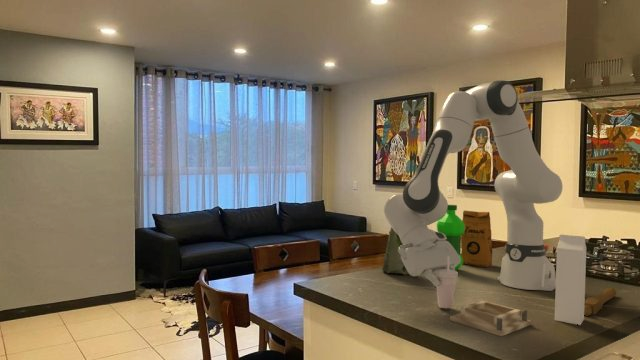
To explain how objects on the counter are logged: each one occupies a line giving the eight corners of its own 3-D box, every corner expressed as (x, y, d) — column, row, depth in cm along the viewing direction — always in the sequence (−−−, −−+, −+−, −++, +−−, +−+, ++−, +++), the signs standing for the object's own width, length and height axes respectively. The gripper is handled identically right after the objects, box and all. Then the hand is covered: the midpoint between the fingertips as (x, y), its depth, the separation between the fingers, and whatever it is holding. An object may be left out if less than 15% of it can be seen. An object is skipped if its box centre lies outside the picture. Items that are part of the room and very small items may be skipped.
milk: (558, 315, 126) (561, 233, 125) (584, 319, 122) (586, 235, 122) (554, 320, 121) (556, 235, 120) (580, 325, 117) (583, 237, 117)
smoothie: (458, 310, 125) (459, 258, 125) (433, 308, 127) (434, 257, 126) (456, 303, 132) (457, 254, 131) (432, 302, 133) (433, 253, 132)
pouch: (401, 268, 181) (403, 204, 180) (418, 275, 169) (420, 206, 169) (375, 270, 177) (377, 204, 176) (391, 277, 165) (393, 206, 165)
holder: (481, 310, 128) (481, 298, 128) (531, 324, 117) (531, 310, 117) (450, 320, 119) (450, 306, 119) (501, 336, 108) (501, 321, 108)
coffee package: (487, 268, 183) (489, 212, 183) (456, 264, 191) (458, 210, 191) (495, 265, 191) (497, 211, 191) (465, 260, 199) (467, 209, 198)
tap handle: (617, 288, 145) (591, 307, 124) (616, 297, 146) (590, 318, 124) (605, 286, 148) (578, 304, 126) (605, 296, 148) (577, 315, 126)
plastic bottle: (449, 274, 173) (451, 206, 172) (430, 268, 182) (431, 204, 181) (469, 271, 178) (471, 205, 177) (449, 266, 187) (450, 203, 186)
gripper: (401, 239, 127) (430, 281, 120) (447, 233, 140) (475, 271, 133) (389, 252, 131) (416, 295, 124) (435, 246, 144) (461, 284, 136)
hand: (447, 283), depth 128 cm, fingers closed on smoothie, 6 cm apart
